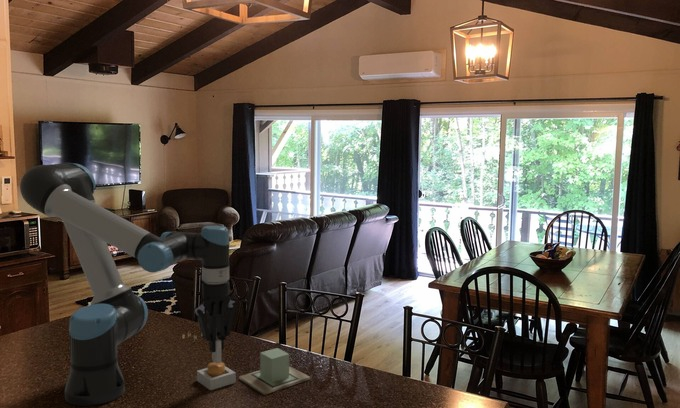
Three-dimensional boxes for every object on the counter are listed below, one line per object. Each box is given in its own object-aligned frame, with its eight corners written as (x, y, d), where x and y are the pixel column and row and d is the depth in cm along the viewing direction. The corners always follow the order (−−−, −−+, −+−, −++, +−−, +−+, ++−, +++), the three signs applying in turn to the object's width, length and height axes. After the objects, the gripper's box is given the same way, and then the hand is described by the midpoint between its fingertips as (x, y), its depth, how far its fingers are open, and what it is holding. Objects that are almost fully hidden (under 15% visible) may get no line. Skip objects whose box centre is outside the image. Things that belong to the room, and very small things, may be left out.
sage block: (271, 382, 163) (272, 358, 162) (260, 375, 167) (260, 352, 167) (289, 377, 167) (289, 354, 166) (277, 370, 171) (277, 347, 170)
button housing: (210, 390, 159) (210, 380, 159) (196, 380, 165) (196, 370, 165) (235, 382, 164) (235, 372, 164) (221, 373, 170) (221, 363, 170)
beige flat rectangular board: (264, 394, 157) (264, 391, 157) (239, 379, 167) (239, 376, 167) (309, 379, 168) (310, 376, 168) (283, 365, 177) (283, 362, 177)
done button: (212, 380, 161) (212, 369, 161) (204, 374, 165) (204, 364, 164) (227, 375, 164) (227, 365, 164) (219, 370, 168) (219, 360, 168)
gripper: (201, 287, 154) (202, 371, 157) (243, 280, 163) (243, 360, 165) (188, 282, 160) (189, 363, 163) (229, 275, 168) (230, 352, 171)
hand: (216, 361), depth 164 cm, fingers closed
